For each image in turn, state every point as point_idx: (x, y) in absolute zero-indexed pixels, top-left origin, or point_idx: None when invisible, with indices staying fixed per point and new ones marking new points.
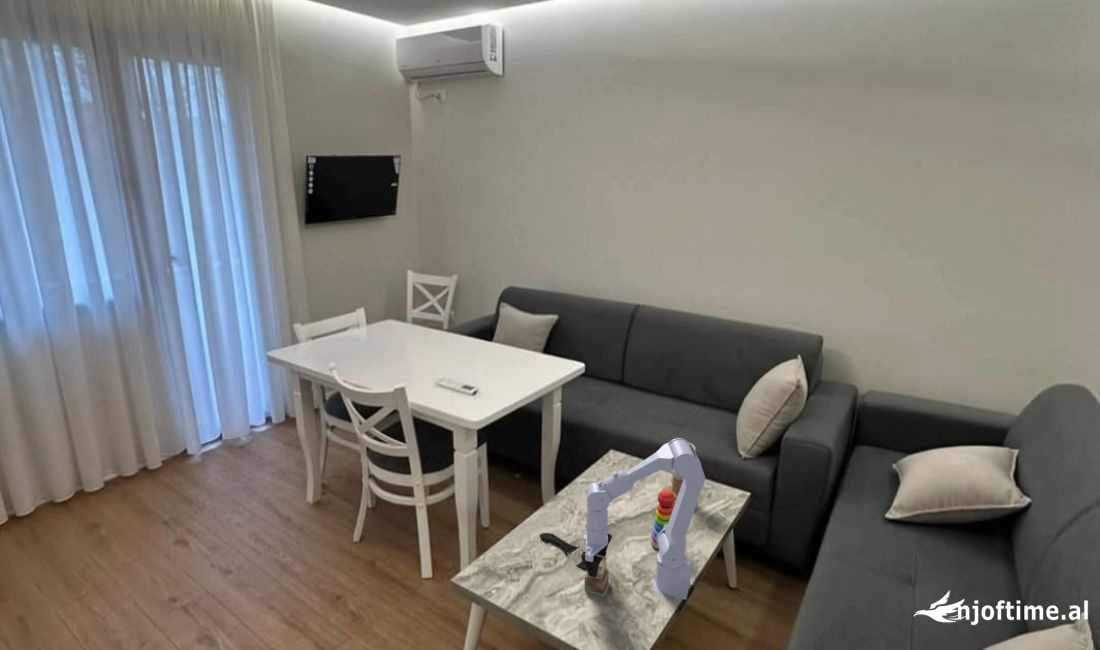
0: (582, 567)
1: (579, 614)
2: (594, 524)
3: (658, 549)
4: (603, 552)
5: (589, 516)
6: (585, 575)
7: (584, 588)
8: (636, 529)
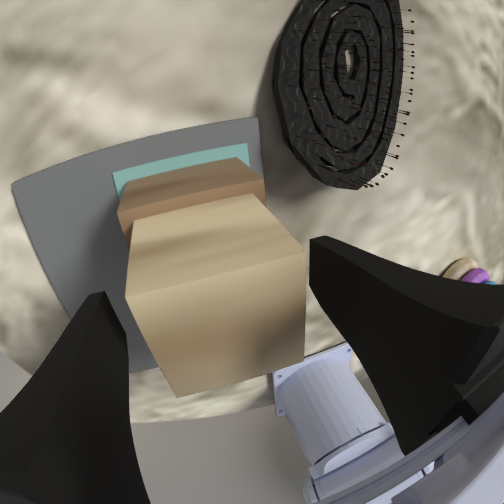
0: (279, 87)
1: (5, 246)
2: None
3: None
4: (345, 325)
5: None
6: (135, 208)
7: (131, 178)
8: (490, 201)
